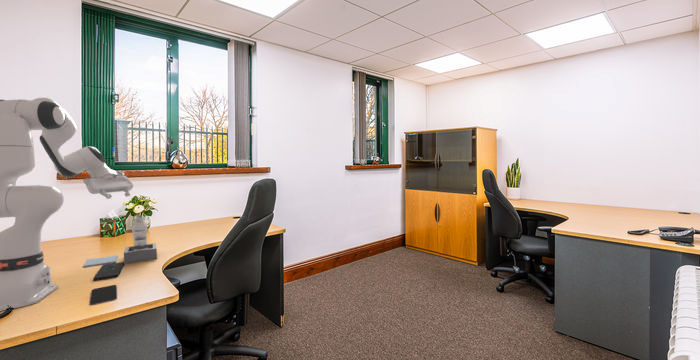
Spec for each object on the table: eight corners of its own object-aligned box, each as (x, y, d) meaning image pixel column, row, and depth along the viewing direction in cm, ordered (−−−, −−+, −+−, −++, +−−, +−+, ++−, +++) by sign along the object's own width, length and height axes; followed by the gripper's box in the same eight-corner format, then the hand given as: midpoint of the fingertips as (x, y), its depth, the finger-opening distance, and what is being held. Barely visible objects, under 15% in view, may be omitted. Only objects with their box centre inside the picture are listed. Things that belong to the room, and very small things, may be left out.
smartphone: (89, 305, 101) (91, 289, 113) (89, 308, 101) (91, 292, 113) (117, 298, 105) (116, 284, 117) (117, 301, 105) (116, 287, 117)
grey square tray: (157, 258, 152) (156, 248, 152) (124, 263, 145) (123, 252, 145) (156, 252, 163) (156, 243, 163) (126, 256, 156) (125, 247, 156)
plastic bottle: (141, 259, 150) (139, 219, 149) (129, 259, 151) (127, 218, 150) (152, 256, 156) (150, 216, 155) (141, 255, 158) (139, 216, 157)
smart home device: (124, 261, 144) (118, 274, 127) (125, 264, 144) (118, 278, 127) (102, 264, 140) (92, 278, 123) (102, 268, 140) (92, 282, 123)
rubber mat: (115, 262, 147) (115, 261, 147) (82, 267, 140) (82, 266, 140) (118, 256, 157) (118, 255, 157) (87, 260, 150) (87, 259, 150)
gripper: (84, 173, 148) (100, 194, 145) (126, 172, 167) (141, 190, 165) (78, 183, 149) (94, 203, 147) (120, 180, 169) (135, 198, 166)
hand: (119, 196), depth 156 cm, fingers open, 8 cm apart
